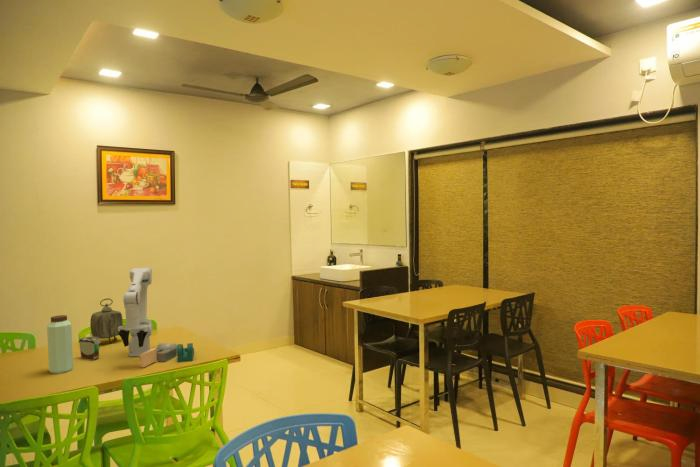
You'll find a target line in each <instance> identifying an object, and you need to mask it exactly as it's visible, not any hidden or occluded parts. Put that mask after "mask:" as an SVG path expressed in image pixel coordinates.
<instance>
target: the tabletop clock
mask: <svg viewBox="0 0 700 467" xmlns="http://www.w3.org/2000/svg"><path fill="white" fill-rule="evenodd" d="M107 300H110V301H111V303H109V304H108V303H105V305H104V304H102V303H103V301H107ZM113 303H114V302H113V299H111V298H109V297H108V298H104V299H102V300H100V303H99V305H100V306H101V307H103V308H102V309H101V310H100V311H95V312H93V313H92V314H91V317H90V325H89V326H90V332H91V337H99V338H100V340H101V339H103V340H105V339H108V344H110V345H111V344H112V343H113V340H114V341H117V336H120V335H119V334H118V333H119V332H120V331H118V327H119V326H124V322H123V321H124V319H123V314H122V312H121V311H119V310H118V311H117V310H114V309H113V308H112V307H111V305H112V304H113ZM111 338H113V340H111Z"/></svg>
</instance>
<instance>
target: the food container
mask: <svg viewBox="0 0 700 467" xmlns="http://www.w3.org/2000/svg"><path fill="white" fill-rule="evenodd" d="M101 342H102V341H101V339H100V338H99V337H93V336H84V337H81V338H78V343H79V352H80V359H82V360H88V361H96V360H98V359H99V356H100V343H101Z"/></svg>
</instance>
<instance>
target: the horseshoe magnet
mask: <svg viewBox="0 0 700 467" xmlns="http://www.w3.org/2000/svg"><path fill="white" fill-rule="evenodd" d="M177 345H178V344H177V343H168V342H167V343H164V342H163V343H162V342H161V343H158V344H157V347H156V351H157V361H156V362H158V363H166V362H168V361H169V360H172V359H174V358H175V357H177Z"/></svg>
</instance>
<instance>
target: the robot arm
mask: <svg viewBox="0 0 700 467" xmlns="http://www.w3.org/2000/svg"><path fill="white" fill-rule="evenodd" d="M129 279H130V281H131V282H130V283H129V285H128V288H127V290H126V292H125V293H123V295H122V296H123V299H122V302H123V304H124V307H123V308H124V309H125V325H123V326H119V327H118V331H120V332H119V333H118V334H119V335H118V336H119V337H120V338H121V340H122V343H123V346H124V347H128V357H139V358H140V354H142V353H144V352H146V351H148V350H151V343H150V341H151V339H150V338H151V336H152V335H153V332H154V330H153V321H152V319H150V318H149V317H148V316H147V310H148V309H147V308H148V307H147V306H148V305H147V304H148V288H149V286H150V285H152V281H153V271H152V268H151V267H150V266H149V267H135V268H133V267H132V268H130V270H129ZM130 336H131V337H130ZM129 337H130V338H129Z"/></svg>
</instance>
